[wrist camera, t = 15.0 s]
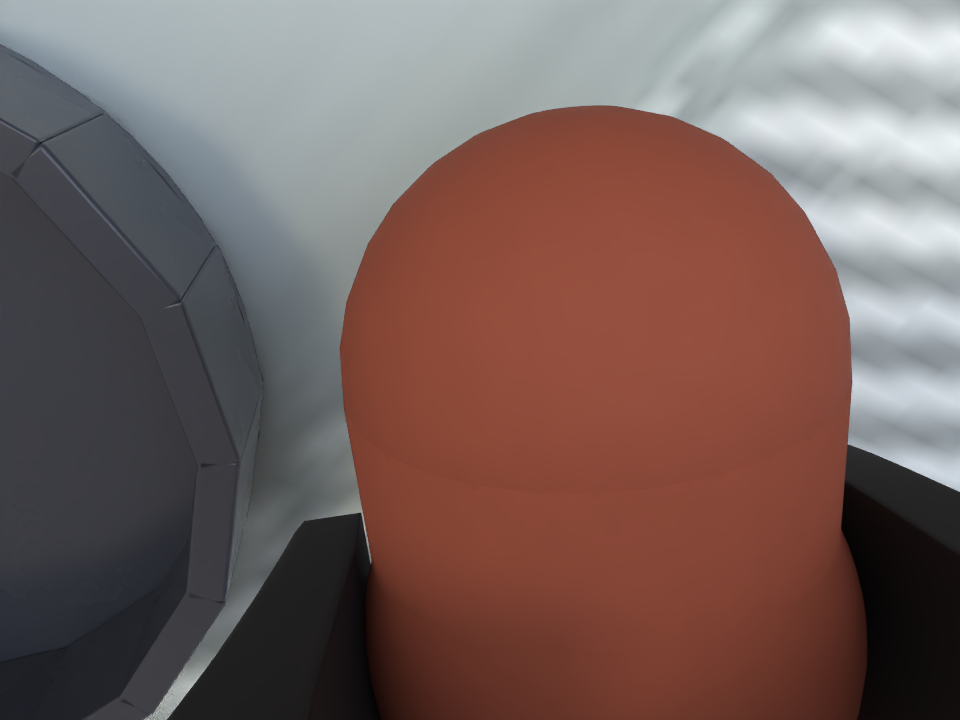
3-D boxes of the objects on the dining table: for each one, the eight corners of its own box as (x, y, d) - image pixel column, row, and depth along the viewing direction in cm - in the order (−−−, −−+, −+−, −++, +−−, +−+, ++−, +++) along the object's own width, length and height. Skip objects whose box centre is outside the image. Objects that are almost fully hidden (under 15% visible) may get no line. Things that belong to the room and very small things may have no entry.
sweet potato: (294, 110, 9) (216, 229, 4) (754, 56, 9) (1104, 117, 5) (419, 799, 13) (442, 1225, 8) (739, 746, 13) (922, 1129, 9)
